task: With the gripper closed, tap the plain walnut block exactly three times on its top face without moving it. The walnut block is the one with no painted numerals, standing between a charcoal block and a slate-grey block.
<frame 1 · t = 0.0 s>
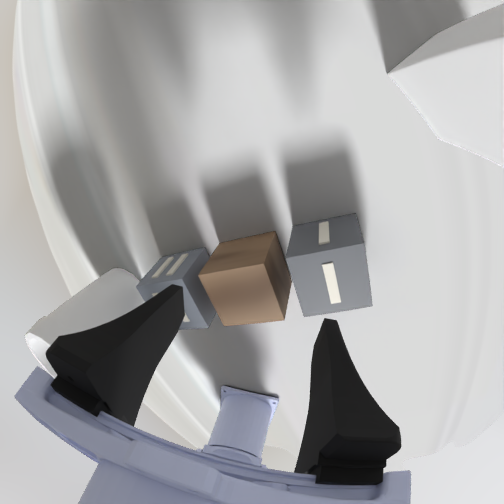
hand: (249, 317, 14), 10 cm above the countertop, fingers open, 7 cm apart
milk: (438, 85, 14), on the countertop
walnut block: (256, 262, 24), on the countertop
foam cup: (127, 289, 30), on the countertop
slate block 2: (193, 274, 27), on the countertop
charcoal block 1: (330, 247, 22), on the countertop
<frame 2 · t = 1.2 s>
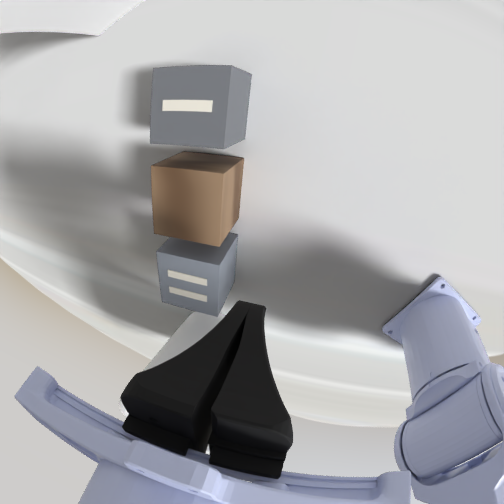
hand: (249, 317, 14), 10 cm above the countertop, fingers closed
walnut block: (211, 184, 22), on the countertop
foam cup: (214, 329, 30), on the countertop
slate block 2: (209, 253, 25), on the countertop
charcoal block 1: (215, 104, 19), on the countertop
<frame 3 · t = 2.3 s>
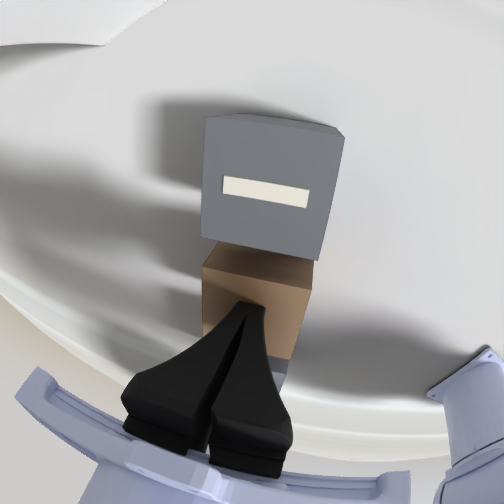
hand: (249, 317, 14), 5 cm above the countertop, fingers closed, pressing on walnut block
walnut block: (267, 265, 18), on the countertop, touching gripper
slate block 2: (257, 334, 21), on the countertop
charcoal block 1: (281, 163, 14), on the countertop
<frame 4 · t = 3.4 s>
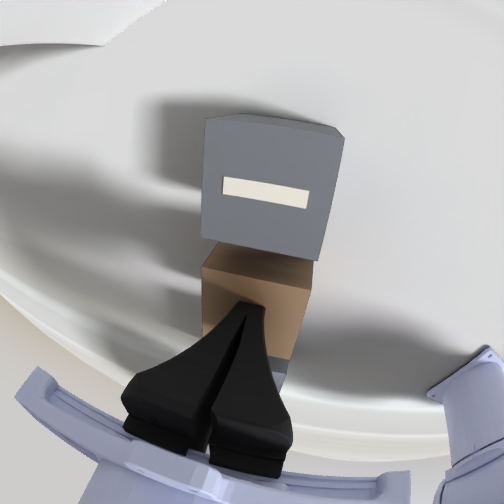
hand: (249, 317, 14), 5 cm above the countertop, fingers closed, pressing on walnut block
walnut block: (267, 265, 18), on the countertop, touching gripper
slate block 2: (257, 334, 21), on the countertop
charcoal block 1: (281, 164, 15), on the countertop
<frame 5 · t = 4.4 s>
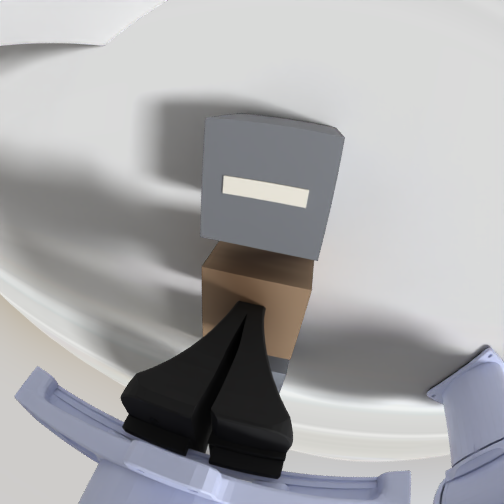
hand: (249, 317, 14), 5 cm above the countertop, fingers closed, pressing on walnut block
walnut block: (268, 265, 18), on the countertop, touching gripper
slate block 2: (257, 334, 21), on the countertop
charcoal block 1: (281, 163, 14), on the countertop
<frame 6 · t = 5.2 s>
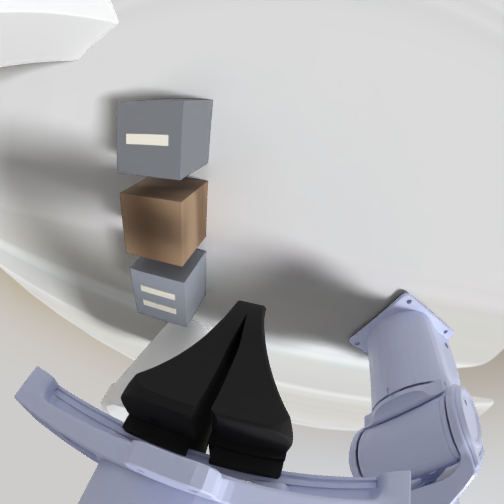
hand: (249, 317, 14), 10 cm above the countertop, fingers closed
milk: (91, 22, 15), on the countertop
walnut block: (179, 204, 23), on the countertop
foam cup: (191, 336, 32), on the countertop
slate block 2: (182, 267, 27), on the countertop
charcoal block 1: (180, 129, 20), on the countertop
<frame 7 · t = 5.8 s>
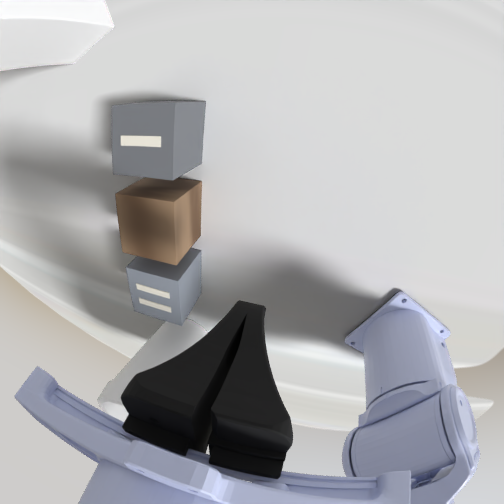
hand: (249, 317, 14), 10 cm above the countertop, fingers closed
milk: (88, 26, 16), on the countertop
walnut block: (175, 204, 24), on the countertop
foam cup: (188, 335, 32), on the countertop
slate block 2: (177, 266, 27), on the countertop
charcoal block 1: (175, 130, 20), on the countertop
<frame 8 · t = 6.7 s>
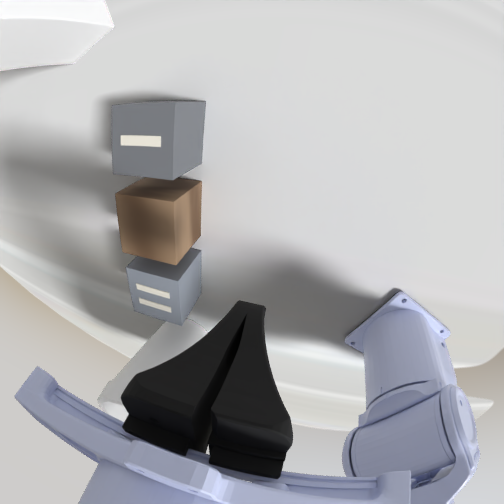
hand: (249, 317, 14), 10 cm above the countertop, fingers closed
milk: (88, 26, 16), on the countertop
walnut block: (175, 204, 24), on the countertop
foam cup: (188, 335, 32), on the countertop
slate block 2: (177, 266, 27), on the countertop
charcoal block 1: (175, 130, 20), on the countertop
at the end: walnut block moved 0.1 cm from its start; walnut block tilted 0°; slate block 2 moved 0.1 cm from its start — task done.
